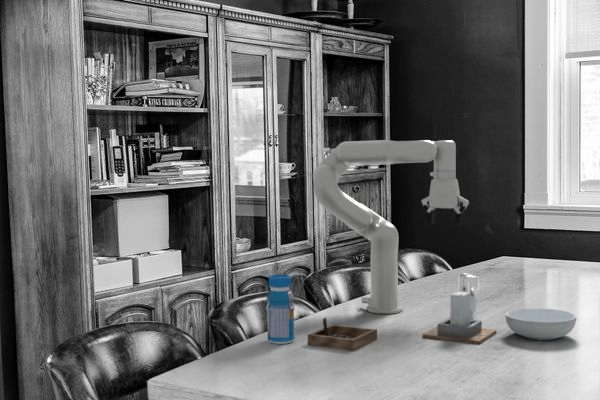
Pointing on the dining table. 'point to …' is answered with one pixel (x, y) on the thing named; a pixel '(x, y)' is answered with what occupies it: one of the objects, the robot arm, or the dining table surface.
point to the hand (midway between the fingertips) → (444, 224)
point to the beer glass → (470, 290)
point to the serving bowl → (540, 322)
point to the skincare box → (460, 309)
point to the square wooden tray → (360, 334)
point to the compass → (327, 330)
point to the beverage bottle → (280, 310)
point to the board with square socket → (460, 332)
